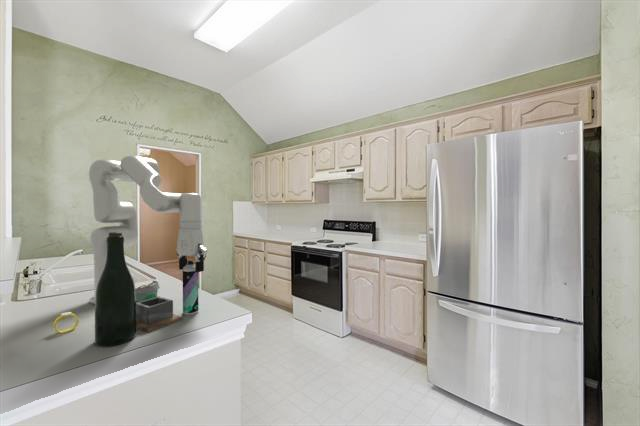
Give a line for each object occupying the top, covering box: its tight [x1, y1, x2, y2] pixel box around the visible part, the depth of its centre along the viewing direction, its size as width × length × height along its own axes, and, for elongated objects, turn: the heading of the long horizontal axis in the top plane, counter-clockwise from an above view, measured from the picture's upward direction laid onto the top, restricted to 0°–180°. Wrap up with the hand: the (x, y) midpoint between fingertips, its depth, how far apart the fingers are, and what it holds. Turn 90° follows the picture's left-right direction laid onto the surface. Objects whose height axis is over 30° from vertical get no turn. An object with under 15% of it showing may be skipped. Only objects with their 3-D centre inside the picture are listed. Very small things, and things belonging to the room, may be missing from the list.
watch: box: [52, 311, 79, 334], centre depth 92 cm, size 6×3×6 cm, turn 141°
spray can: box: [182, 259, 199, 316], centre depth 109 cm, size 6×6×20 cm
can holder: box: [136, 296, 183, 333], centre depth 100 cm, size 14×12×7 cm
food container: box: [135, 280, 160, 303], centre depth 111 cm, size 12×6×10 cm, turn 168°
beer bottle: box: [94, 232, 138, 347], centre depth 87 cm, size 10×10×33 cm
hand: (191, 270), depth 109 cm, fingers open, 9 cm apart
